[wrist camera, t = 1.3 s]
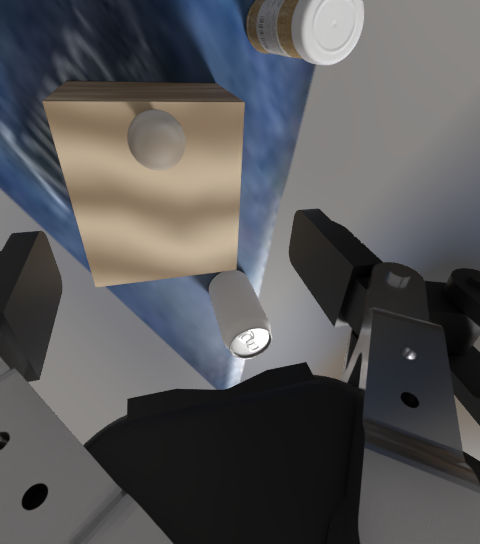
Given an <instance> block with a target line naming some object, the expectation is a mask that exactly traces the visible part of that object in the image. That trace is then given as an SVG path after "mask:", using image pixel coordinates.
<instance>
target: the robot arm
mask: <svg viewBox="0 0 480 544" xmlns="http://www.w3.org/2000/svg"><path fill="white" fill-rule="evenodd" d="M289 258H290V261H291V264H292V265H293V267H294V269H295V270H296V272H297V273H298V274H299V276H300V277H301V279H302V280H303V282H304V283H305V285H306V286H307V288H308V289H309V290H310V292H311V294H312V295H313V296H314V298H315V299H316V301H317V302H318V304H319V305H320V307H321V308H322V309H323V311H324V313H325V314H326V315H327V317H328V318H329V320H330V321H331V323H332V324H333V325H334V327H339V326H344V325H350V326H351V331H350V334H349V338H348V343H347V349H346V355H345V361H344V367H343V372H342V378H341V381H340V380H338V379H334V378H330V377H326V376H319V375H313V374H312V372H311V370H310V368H309V367H308V365H307V363H306V362H305V363H300V364H295V365H290V366H285V367H280V368H276V369H270V370H266V371H264V372H262V373H260V374H258V375H256V376H254V377H252V378H250V379H248V380H245V381H243V382H242V383H239V384H237V385H235V386H233V387H231V388H229V389H225V390H199V389H174V390H169V391H164V392H159V393H154V394H149V395H145V396H139V397H134V398H130V399H128V405H127V406H128V407H127V415H126V416H123V417H121V418H119V419H117V420H116V421H114V422H112V423H111V424H109V425H107V426H106V427H104V428H103V429H102V430H100V431H99V432H98V433H96V434H95V435H94V436H93V437H92V438H91V439H90V440H89V441H88V442H86V443H85V444H84V445H82V444H81V443H80V442H79V441H78V439H77V438H76V437H75V436H74V435H73V434H72V433H71V431H70V430H69V429H68V428H67V427H66V426H65V425H64V423H63V422H62V421H61V420H60V419H59V418H58V417H57V415H55V413H54V412H53V411H52V410H51V409H50V407H49V406H48V405H47V404H46V403H45V402H44V401H43V399H42V398H41V397H40V396H39V395H38V394H37V392H35V390H34V389H33V388H32V387H31V386H30V384H29V383H28V382H29V381H35V380H39V379H40V375H41V372H42V368H43V364H44V360H45V356H46V352H47V349H48V344H49V341H50V337H51V333H52V329H53V325H54V321H55V317H56V314H57V310H58V306H59V302H60V298H61V294H62V280H61V275H60V272H59V270H58V267H57V264H56V261H55V258H54V256H53V253H52V250H51V247H50V244H49V242H48V239H47V236H46V235H45V233H44V232H43V231H34V232H22V233H13V234H11V236H10V237H9V239H8V241H7V242H6V244H5V246H4V248H3V249H2V251H0V544H480V461H478V460H477V459H475V458H474V457H472V456H470V455H469V454H467V453H465V452H464V451H463V450H462V443H461V437H460V431H459V424H458V418H457V411H456V405H455V399H454V395H455V396H456V397H457V398H458V400H459V401H460V402H461V403H462V405H463V406H464V407H465V408H466V410H467V411H468V412H469V413H470V414H471V416H472V417H473V418H474V419H475V420H476V422H477V423H478V424H479V425H480V352H479V351H478V350H477V349H476V348H475V347H474V346H473V344H474V343H475V341H476V340H477V338H478V337H479V336H480V271H478V270H474V269H466V268H461V269H456V270H454V271H453V272H452V273H451V275H450V277H449V279H448V281H447V283H443V282H431V281H425V280H424V278H423V277H422V276H421V275H420V274H419V273H418V272H417V271H415V270H414V269H412V268H410V267H408V266H405V265H403V264H399V263H394V262H382V261H381V260H380V259H379V258H378V257H376V255H374V253H372V252H371V251H370V250H369V249H368V248H367V247H366V246H365V245H364V244H363V243H361V241H360V240H358V239H357V238H356V237H354V235H353V234H352V233H351V232H350V231H349V230H348V229H346V228H345V227H344V226H342V225H340V224H338V223H336V222H334V221H331V220H330V219H329V218H328V217H327V216H326V215H325V214H324V213H323V212H322V211H321V210H320V209H307V210H298V211H296V213H295V216H294V221H293V227H292V234H291V239H290V246H289Z"/></svg>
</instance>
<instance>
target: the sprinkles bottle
mask: <svg viewBox="0 0 480 544" xmlns="http://www.w3.org/2000/svg"><path fill="white" fill-rule="evenodd" d="M363 23H364V5H363V0H255V2H254V3H253V4H252V6H251V8H250V10H249V12H248V15H247V19H246V30H247V36H248V38H249V41H250V43H251V45H252V46H253V47H254V48H255V49H256V50H258V51H259V52H262V53H274V54H278V55H282V56H287V57H293V58H301V59H304V60H306V61H307V62H310V63H313V64H319V65H331V64H335V63H337V62H339V61H341V60H342V59H344V58H345V57H346V56H347V55H348V54H349V53H350V52H351V51H352V49H353V48H354V47H355V45H356V43H357V41H358V39H359V37H360V34H361V31H362V27H363Z"/></svg>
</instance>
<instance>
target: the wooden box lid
mask: <svg viewBox="0 0 480 544" xmlns="http://www.w3.org/2000/svg"><path fill="white" fill-rule="evenodd" d="M42 102H43V105H44V109H45V112H46V116H47V119H48V123H49V126H50V130H51V133H52V137H53V140H54V144H55V147H56V151H57V154H58V158H59V161H60V164H61V168H62V171H63V175H64V178H65V182H66V185H67V189H68V192H69V196H70V199H71V203H72V206H73V210H74V213H75V217H76V220H77V224H78V227H79V231H80V234H81V238H82V241H83V244H84V248H85V251H86V255H87V258H88V262H89V265H90V269H91V272H92V276H93V279H94V283H95V286H96V287H102V286H110V285H118V284H126V283H134V282H142V281H150V280H158V279H166V278H174V277H183V276H191V275H199V274H207V273H215V272H223V271H231V270H236V267H237V247H238V227H239V206H240V186H241V166H242V145H243V125H244V105H245V102H244V101H179V100H43V101H42Z"/></svg>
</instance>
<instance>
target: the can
mask: <svg viewBox="0 0 480 544" xmlns="http://www.w3.org/2000/svg"><path fill="white" fill-rule="evenodd" d="M209 295H210V299H211V302H212V306H213V309H214V312H215V316H216V319H217V322H218V326H219V329H220V332H221V335H222V339H223V342H224V344H225V346H226V347H227V348H228V349H229V350H230V353H231V354H232V355H233V356H234V357H236V358H239V359H250V358H253V357H256V356H259V355H261V354H262V353H264V352H265V351H266V350H267V349H268V348H269V346H270V345H271V343H272V335H271V326H270V324H269V321H268V319H267V317H266V315H265V312H264V310H263V309H262V306H261V304H260V302H259V300H258V298H257V295H256V293H255V291H254V289H253V287H252V285H251V283H250V281H249V279H248V277H247V276H246V275H245V274H244V273H243V272H241V271H237V270H231V271H224V272H221V273H220V274H218V275H217V276H216V277H214V278H213V280H212V281H211V282H210V285H209Z"/></svg>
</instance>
